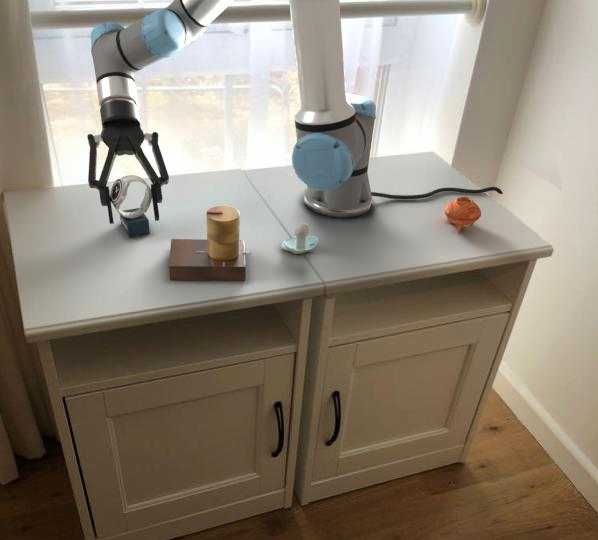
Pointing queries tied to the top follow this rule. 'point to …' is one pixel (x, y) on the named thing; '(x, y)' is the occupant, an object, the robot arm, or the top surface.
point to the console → (203, 262)
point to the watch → (133, 218)
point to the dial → (223, 232)
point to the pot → (462, 212)
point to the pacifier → (300, 241)
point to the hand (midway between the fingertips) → (134, 220)
